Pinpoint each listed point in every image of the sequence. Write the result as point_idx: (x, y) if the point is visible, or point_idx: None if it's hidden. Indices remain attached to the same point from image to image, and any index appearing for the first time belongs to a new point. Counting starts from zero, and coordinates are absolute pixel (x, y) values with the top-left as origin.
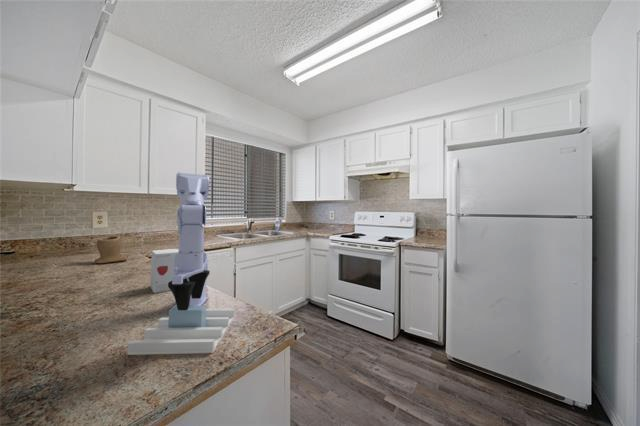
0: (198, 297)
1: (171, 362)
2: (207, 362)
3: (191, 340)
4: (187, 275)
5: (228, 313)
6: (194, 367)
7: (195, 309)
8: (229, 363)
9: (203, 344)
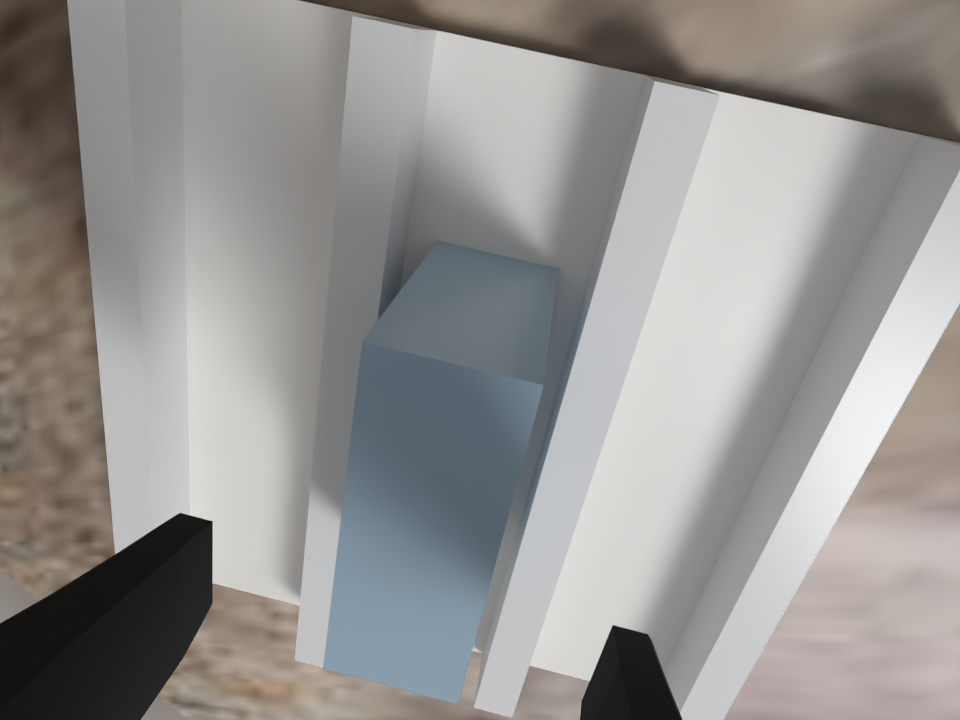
0: (588, 703)
1: (63, 353)
2: (76, 536)
3: (135, 497)
4: None
5: None
6: (27, 480)
7: (351, 619)
8: None
9: None
